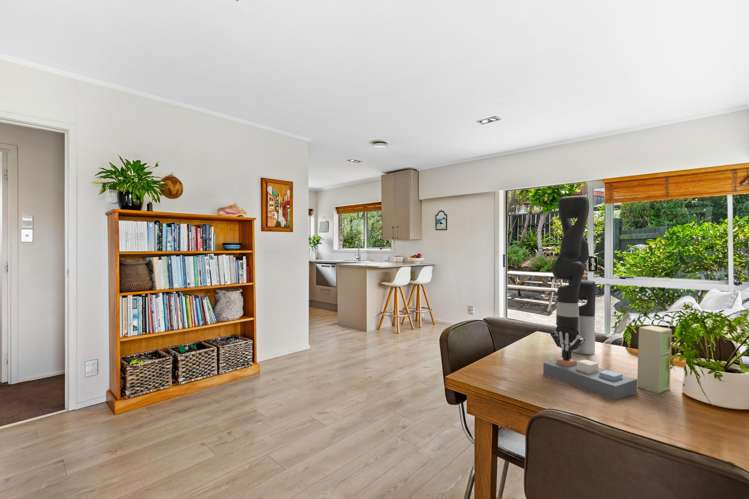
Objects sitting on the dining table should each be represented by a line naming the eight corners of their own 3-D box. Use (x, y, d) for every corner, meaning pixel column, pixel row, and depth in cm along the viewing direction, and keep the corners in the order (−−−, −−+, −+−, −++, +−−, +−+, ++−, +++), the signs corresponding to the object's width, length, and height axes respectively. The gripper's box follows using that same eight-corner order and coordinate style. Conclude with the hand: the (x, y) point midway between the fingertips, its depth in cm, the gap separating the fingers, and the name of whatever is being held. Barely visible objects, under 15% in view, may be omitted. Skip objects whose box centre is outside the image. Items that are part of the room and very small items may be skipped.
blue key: (607, 381, 129) (607, 369, 129) (621, 386, 125) (622, 374, 125) (599, 383, 126) (599, 372, 126) (613, 388, 122) (614, 376, 122)
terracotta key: (564, 367, 143) (564, 357, 143) (576, 371, 139) (576, 360, 139) (556, 369, 140) (556, 358, 140) (568, 373, 136) (568, 362, 136)
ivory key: (584, 370, 136) (585, 359, 136) (598, 374, 132) (598, 363, 132) (576, 372, 133) (577, 361, 133) (590, 376, 129) (590, 365, 129)
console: (564, 369, 147) (564, 357, 147) (636, 392, 124) (637, 379, 124) (543, 374, 141) (543, 362, 141) (615, 400, 118) (615, 386, 118)
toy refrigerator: (660, 394, 123) (662, 331, 123) (636, 386, 129) (638, 327, 129) (673, 390, 127) (674, 329, 126) (649, 383, 133) (650, 325, 133)
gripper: (590, 316, 135) (589, 363, 135) (557, 310, 147) (556, 353, 147) (578, 318, 132) (577, 366, 132) (545, 311, 143) (544, 356, 143)
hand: (566, 359), depth 139 cm, fingers closed
